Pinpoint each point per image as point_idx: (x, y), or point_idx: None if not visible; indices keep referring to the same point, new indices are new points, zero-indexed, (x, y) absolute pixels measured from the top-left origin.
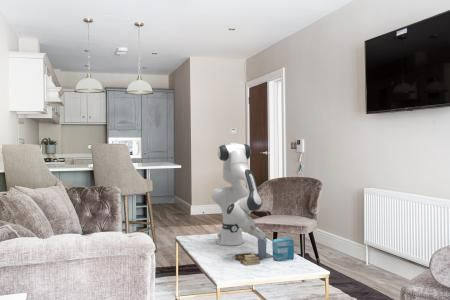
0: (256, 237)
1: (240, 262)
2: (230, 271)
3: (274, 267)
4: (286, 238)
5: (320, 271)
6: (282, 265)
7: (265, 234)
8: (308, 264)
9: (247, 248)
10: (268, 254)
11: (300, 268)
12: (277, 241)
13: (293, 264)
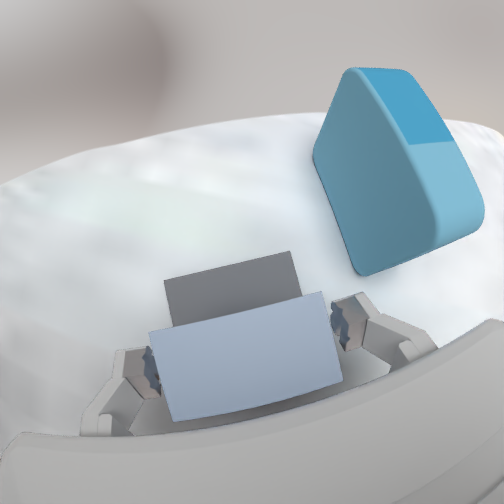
0: (142, 403)
1: None
2: None
3: (485, 298)
4: (392, 92)
5: (499, 141)
6: (462, 249)
7: (317, 301)
8: None
9: (18, 368)
10: (226, 281)
11: (488, 187)
12: (482, 207)
13: None
